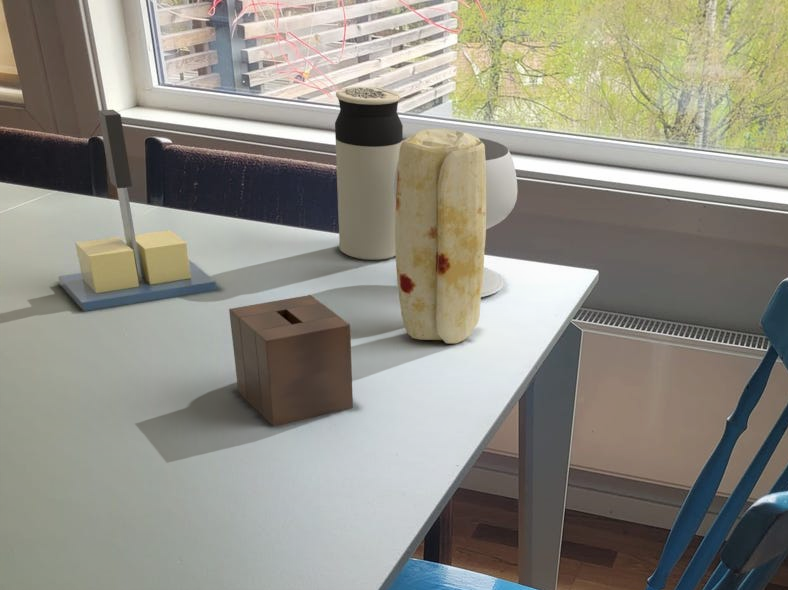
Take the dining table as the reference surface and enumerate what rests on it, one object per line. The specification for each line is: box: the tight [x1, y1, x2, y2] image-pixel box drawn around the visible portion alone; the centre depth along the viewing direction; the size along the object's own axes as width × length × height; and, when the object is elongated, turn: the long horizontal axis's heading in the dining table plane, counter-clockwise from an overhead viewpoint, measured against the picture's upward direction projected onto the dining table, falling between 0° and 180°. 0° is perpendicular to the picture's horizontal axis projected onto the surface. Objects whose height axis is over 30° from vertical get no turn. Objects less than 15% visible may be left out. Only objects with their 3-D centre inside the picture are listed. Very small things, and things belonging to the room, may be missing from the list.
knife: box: [97, 109, 143, 282], centre depth 107 cm, size 2×3×17 cm, turn 34°
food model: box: [395, 128, 487, 345], centre depth 100 cm, size 10×7×20 cm
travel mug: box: [334, 86, 404, 261], centre depth 121 cm, size 8×8×18 cm
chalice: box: [394, 137, 519, 298], centre depth 114 cm, size 14×14×15 cm
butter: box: [58, 229, 217, 312], centre depth 112 cm, size 15×9×5 cm, turn 123°
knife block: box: [228, 294, 354, 427], centre depth 90 cm, size 8×8×8 cm
